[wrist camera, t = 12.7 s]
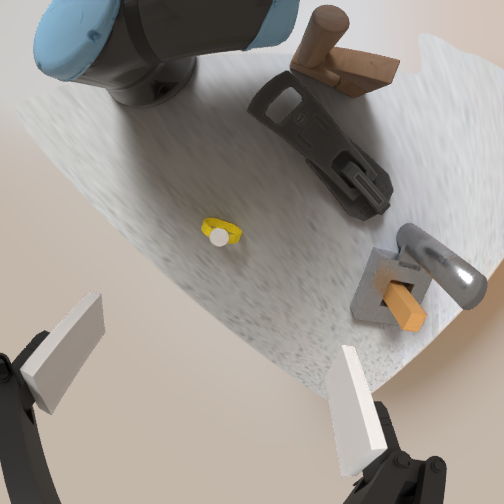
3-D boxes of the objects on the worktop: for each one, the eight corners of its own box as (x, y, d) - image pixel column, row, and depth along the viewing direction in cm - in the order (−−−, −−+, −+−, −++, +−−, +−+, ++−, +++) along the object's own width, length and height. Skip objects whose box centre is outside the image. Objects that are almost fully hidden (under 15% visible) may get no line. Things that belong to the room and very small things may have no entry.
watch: (243, 222, 45) (244, 235, 40) (238, 238, 46) (237, 253, 41) (207, 210, 44) (202, 222, 39) (202, 226, 45) (196, 240, 40)
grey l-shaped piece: (384, 214, 43) (451, 265, 24) (436, 232, 43) (505, 282, 25) (349, 306, 50) (383, 386, 31) (401, 315, 50) (444, 385, 32)
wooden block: (353, 99, 36) (407, 79, 20) (288, 68, 35) (304, 23, 19) (361, 80, 35) (417, 52, 18) (297, 49, 34) (318, -3, 17)
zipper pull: (286, 62, 30) (414, 195, 35) (283, 74, 36) (395, 187, 41) (238, 110, 32) (372, 238, 38) (242, 115, 39) (358, 225, 44)
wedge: (384, 275, 47) (411, 312, 36) (398, 279, 47) (427, 315, 36) (378, 291, 48) (402, 330, 37) (391, 293, 48) (418, 331, 37)
